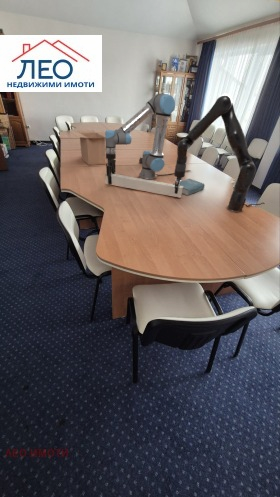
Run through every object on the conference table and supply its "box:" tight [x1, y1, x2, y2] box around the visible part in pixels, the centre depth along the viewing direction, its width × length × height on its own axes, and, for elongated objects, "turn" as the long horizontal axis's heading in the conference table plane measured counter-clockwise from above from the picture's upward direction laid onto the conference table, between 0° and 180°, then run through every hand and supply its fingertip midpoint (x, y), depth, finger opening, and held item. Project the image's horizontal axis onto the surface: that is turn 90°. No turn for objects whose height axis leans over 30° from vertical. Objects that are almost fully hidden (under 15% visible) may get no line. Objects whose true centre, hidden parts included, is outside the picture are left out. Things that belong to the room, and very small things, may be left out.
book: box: [173, 178, 205, 196], centre depth 185 cm, size 23×16×5 cm
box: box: [70, 129, 107, 166], centre depth 229 cm, size 44×36×27 cm
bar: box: [105, 173, 183, 199], centre depth 175 cm, size 63×5×8 cm, turn 72°
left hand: (111, 182), depth 183 cm, fingers closed on bar, 5 cm apart
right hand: (176, 192), depth 169 cm, fingers closed on bar, 5 cm apart
